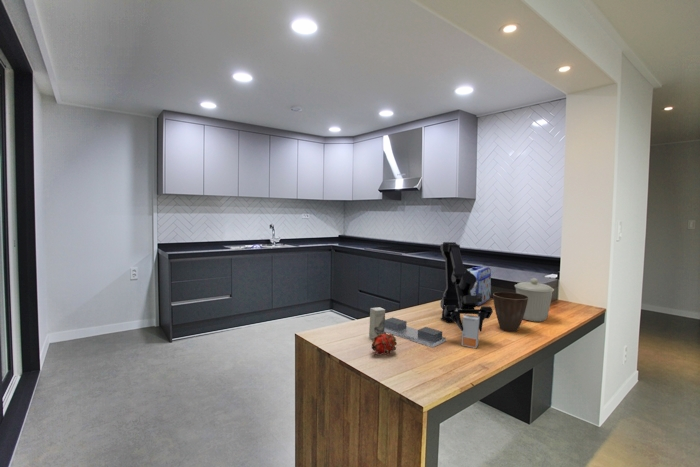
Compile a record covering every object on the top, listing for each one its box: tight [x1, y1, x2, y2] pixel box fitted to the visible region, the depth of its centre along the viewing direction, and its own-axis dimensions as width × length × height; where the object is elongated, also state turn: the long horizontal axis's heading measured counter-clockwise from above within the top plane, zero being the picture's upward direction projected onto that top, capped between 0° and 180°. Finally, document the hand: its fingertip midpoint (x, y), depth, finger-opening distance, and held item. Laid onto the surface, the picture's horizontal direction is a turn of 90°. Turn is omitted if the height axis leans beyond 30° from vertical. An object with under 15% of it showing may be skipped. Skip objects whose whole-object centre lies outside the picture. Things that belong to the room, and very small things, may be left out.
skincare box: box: [461, 314, 480, 349], centre depth 145 cm, size 6×4×12 cm
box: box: [368, 307, 386, 341], centre depth 150 cm, size 5×4×13 cm
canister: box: [514, 277, 555, 322], centre depth 183 cm, size 18×18×21 cm
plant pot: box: [492, 291, 528, 333], centre depth 166 cm, size 15×15×16 cm
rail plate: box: [384, 317, 447, 348], centre depth 155 cm, size 10×27×4 cm, turn 45°
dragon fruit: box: [370, 332, 398, 356], centre depth 135 cm, size 8×8×12 cm
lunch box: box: [467, 266, 492, 306], centre depth 215 cm, size 28×10×22 cm, turn 145°
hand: (471, 330), depth 143 cm, fingers closed on skincare box, 7 cm apart
